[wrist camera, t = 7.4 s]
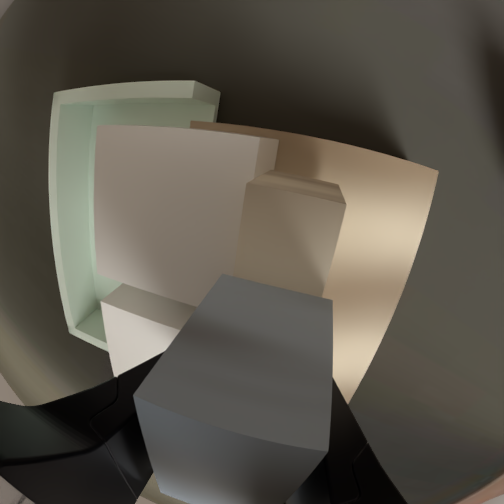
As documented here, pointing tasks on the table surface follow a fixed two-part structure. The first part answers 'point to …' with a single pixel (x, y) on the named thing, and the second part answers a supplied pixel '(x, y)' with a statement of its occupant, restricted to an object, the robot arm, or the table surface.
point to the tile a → (140, 325)
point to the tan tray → (359, 236)
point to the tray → (82, 178)
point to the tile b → (172, 204)
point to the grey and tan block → (252, 358)
